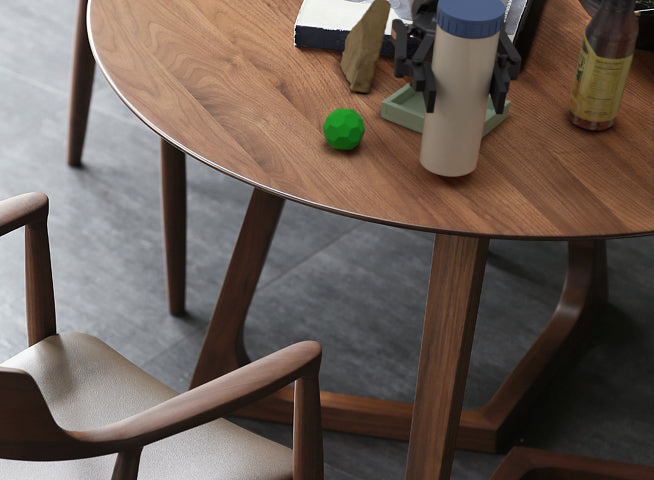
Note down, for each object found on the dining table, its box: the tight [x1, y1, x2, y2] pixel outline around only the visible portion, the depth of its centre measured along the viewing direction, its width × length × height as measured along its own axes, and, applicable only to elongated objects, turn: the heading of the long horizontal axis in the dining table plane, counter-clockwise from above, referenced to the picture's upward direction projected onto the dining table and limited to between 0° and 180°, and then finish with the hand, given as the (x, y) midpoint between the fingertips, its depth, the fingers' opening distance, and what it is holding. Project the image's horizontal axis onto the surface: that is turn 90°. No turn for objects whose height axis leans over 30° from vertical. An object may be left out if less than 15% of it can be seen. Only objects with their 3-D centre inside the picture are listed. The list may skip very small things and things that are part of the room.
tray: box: [379, 81, 512, 139], centre depth 136 cm, size 13×11×2 cm
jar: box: [418, 24, 500, 177], centre depth 120 cm, size 7×7×19 cm
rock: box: [339, 0, 392, 94], centre depth 142 cm, size 11×9×10 cm
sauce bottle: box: [568, 0, 640, 132], centre depth 130 cm, size 6×6×20 cm
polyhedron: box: [322, 107, 366, 151], centre depth 130 cm, size 5×5×5 cm
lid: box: [435, 0, 506, 38], centre depth 114 cm, size 7×7×2 cm
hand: (466, 102), depth 116 cm, fingers closed on jar, 7 cm apart
